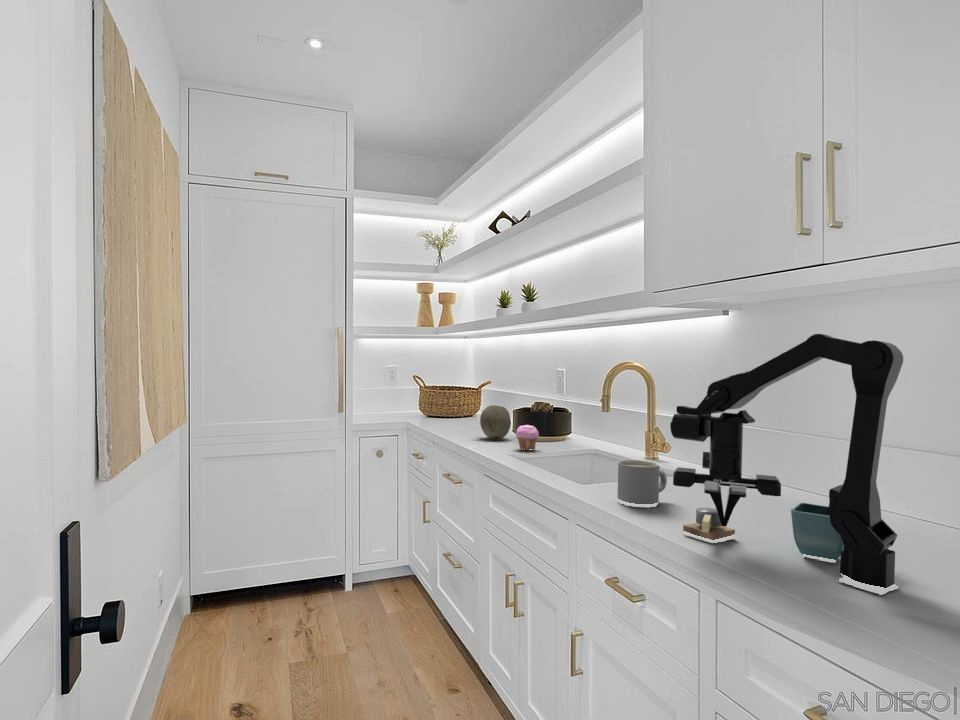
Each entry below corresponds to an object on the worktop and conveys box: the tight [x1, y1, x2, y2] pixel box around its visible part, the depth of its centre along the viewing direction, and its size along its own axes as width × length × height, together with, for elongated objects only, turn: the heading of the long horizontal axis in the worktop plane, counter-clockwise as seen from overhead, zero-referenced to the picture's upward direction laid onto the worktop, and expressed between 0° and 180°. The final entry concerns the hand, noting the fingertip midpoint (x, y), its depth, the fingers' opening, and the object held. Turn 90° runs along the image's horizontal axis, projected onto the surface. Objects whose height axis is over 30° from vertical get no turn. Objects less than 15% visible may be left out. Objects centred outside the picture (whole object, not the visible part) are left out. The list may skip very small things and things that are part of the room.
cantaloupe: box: [479, 405, 512, 441], centre depth 252 cm, size 14×14×15 cm
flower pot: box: [790, 502, 844, 561], centre depth 106 cm, size 9×9×9 cm
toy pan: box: [695, 507, 722, 533], centre depth 114 cm, size 11×5×2 cm, turn 154°
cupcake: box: [515, 424, 540, 451], centre depth 224 cm, size 9×9×10 cm
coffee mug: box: [616, 459, 668, 504], centre depth 144 cm, size 13×10×10 cm
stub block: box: [682, 522, 736, 540], centre depth 117 cm, size 7×7×3 cm
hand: (724, 525), depth 110 cm, fingers closed
